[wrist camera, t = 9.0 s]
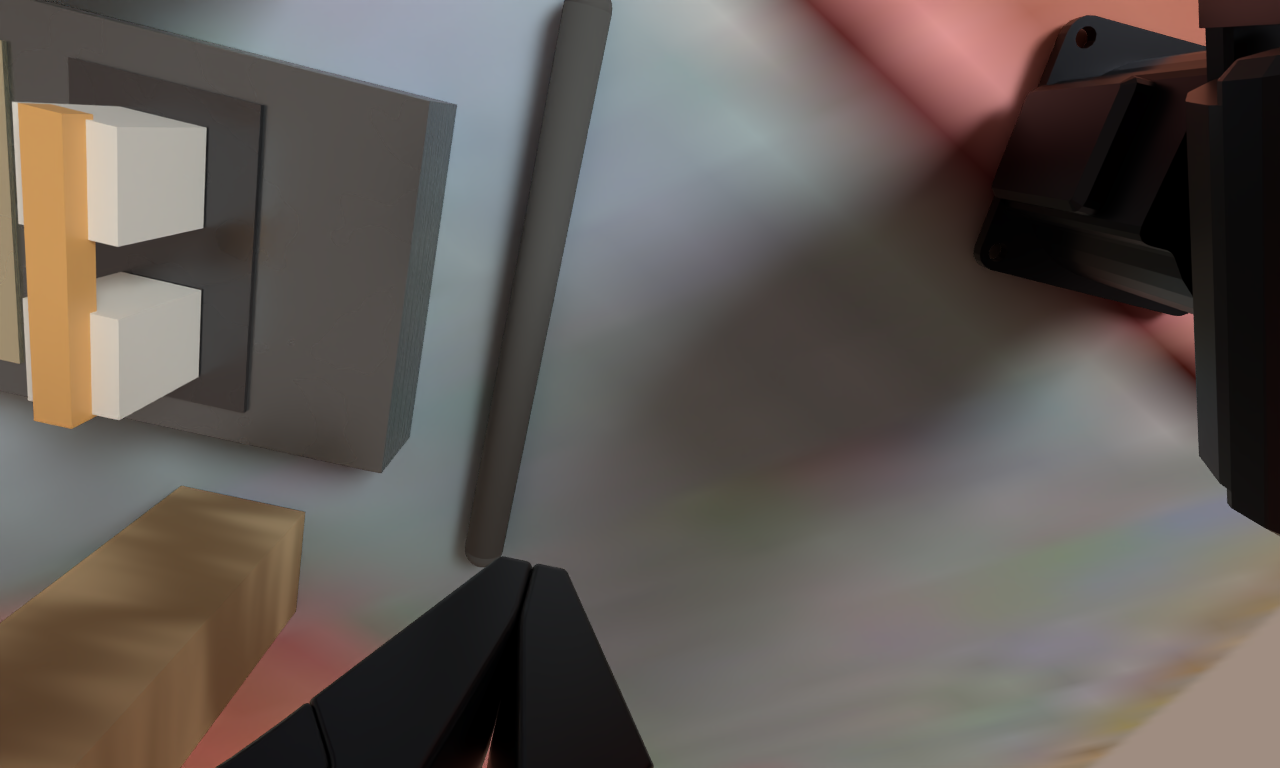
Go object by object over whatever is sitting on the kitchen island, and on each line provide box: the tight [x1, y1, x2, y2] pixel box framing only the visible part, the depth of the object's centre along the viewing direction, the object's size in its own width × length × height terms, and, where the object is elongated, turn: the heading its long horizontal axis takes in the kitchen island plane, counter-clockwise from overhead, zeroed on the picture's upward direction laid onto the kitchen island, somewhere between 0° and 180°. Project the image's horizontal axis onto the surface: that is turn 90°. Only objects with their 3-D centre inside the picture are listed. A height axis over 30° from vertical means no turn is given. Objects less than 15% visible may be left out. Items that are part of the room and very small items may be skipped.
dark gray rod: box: [465, 0, 612, 567], centre depth 20 cm, size 1×17×1 cm, turn 166°
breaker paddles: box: [12, 102, 207, 429], centre depth 16 cm, size 2×7×4 cm, turn 166°
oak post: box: [0, 486, 305, 768], centre depth 19 cm, size 4×4×11 cm
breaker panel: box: [0, 0, 457, 473], centre depth 19 cm, size 12×10×3 cm
